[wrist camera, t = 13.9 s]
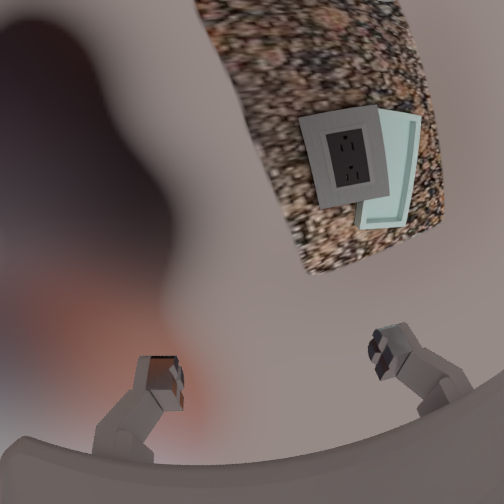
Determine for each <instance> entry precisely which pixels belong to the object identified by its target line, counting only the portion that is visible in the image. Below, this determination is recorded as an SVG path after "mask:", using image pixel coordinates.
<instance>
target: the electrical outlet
mask: <svg viewBox="0 0 504 504" xmlns="http://www.w3.org/2000/svg"><path fill="white" fill-rule="evenodd" d="M298 120H299V123H300V127H301V131H302V134H303V138H304V142H305V146H306V150H307V154H308V158H309V162H310V166H311V170H312V174H313V179H314V183H315V188H316V192H317V197H318V201H319V206H320V209H324V208H329V207H334V206H339V205H344V204H349V203H354V202H359V201H365V200H370V199H375V198H381V197H386V196H390V190H389V180H388V170H387V162H386V154H385V147H384V141H383V134H382V129H381V123H380V117H379V112H378V107H377V104H375V105H367V106H360V107H353V108H347V109H341V110H335V111H329V112H324V113H318V114H313V115H309V116H304V117H299V118H298Z"/></svg>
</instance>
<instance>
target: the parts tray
mask: <svg viewBox="0 0 504 504" xmlns="http://www.w3.org/2000/svg"><path fill="white" fill-rule="evenodd" d="M378 112H379V117H380V123H381V129H382V134H383V141H384V147H385V154H386V162H387V170H388V180H389V190H390V196H386V197H381V198H375V199H370V200H365V201H359V202H357V207H356V215H355V222H354V224H355V225H356V226H357V227H358V229H359V230H362V229H376V228H390V227H405V225H406V220H407V215H408V211H409V206H410V201H411V195H412V190H413V184H414V178H415V171H416V164H417V157H418V148H419V139H420V128H421V116H419V115H414V114H410V113H404V112H399V111H393V110H387V109H380V108H378Z"/></svg>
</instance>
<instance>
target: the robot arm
mask: <svg viewBox="0 0 504 504" xmlns="http://www.w3.org/2000/svg"><path fill="white" fill-rule="evenodd" d="M379 1H385V2H390V1H396V0H379ZM373 337H374V338H373V339H372V340H371V341H370V342H369V345H368V354H369V358H370V360H371V362H373V363H374V364H376V366H375V371H376V373H377V375H378V378H379V380H380V381H382V380H386V379H389V378H393V377H396V378H397V379H398V380H400V381H401V382H402V383H404V384H405V385H406V386H407V387H408V388H410V389H411V390H412V391H413V392H415V393H416V394H417V395H418V396H420V397H421V398H422V399H423V401H422V402H421V403H420V404H419V406H418V407H417V411H418V413H419V416H420V418H419V419H416V420H414V421H412V422H409V423H407V424H405V425H402V426H400V427H397V428H395V429H392V430H390V431H387V432H384V433H381V434H378V435H375V436H373V437H370V438H367V439H363V440H360V441H357V442H354V443H350V444H347V445H343V446H340V447H336V448H332V449H328V450H324V451H319V452H315V453H310V454H306V455H300V456H295V457H289V458H283V459H277V460H269V461H262V462H252V463H241V464H228V465H227V464H226V465H169V464H154V453H153V452H152V450H150V449H149V448H148V447H147V446H146V445H144V444H143V442H144V441H145V439H146V438H147V437H148V435H149V434H150V432H151V431H152V429H153V428H154V426H155V424H156V423H157V422H158V420H159V419H160V417H161V416H162V414H163V413H164V412H163V411H183V406H184V397H183V394H182V392H181V391H182V390H183V389H184V374H183V371H182V367H181V366H179V365H178V363H179V360H178V358H177V356H140V357H139V359H138V362H137V367H136V373H135V378H134V384H133V390H129V391H128V392H127V393H126V394H125V395H124V396H123V397H122V398H121V400H120V401H119V402H118V403H117V404H116V405H115V406H114V407H113V408H112V409H111V410H110V411H109V413H108V414H107V415H106V416H105V417H104V418H103V419H102V420H101V421H100V423H98V425H97V426H96V430H95V436H94V443H93V449H92V454H88V453H83V452H79V451H75V450H71V449H68V448H64V447H60V446H57V445H54V444H50V443H47V442H44V441H41V440H38V439H35V438H33V437H29V436H22V437H21V438H19V439H18V440H17V441H15V442H14V443H13V444H12V445H11V446H10V447H9V448H8V449H6V451H5V452H4V453H3V455H2V457H1V459H0V504H504V370H503V371H501V372H500V373H498V374H497V375H496V376H494V377H493V378H491V379H490V380H488V381H487V382H485V383H483V384H482V385H480V386H479V387H477V388H476V389H473V387H472V386H471V384H470V382H469V381H468V379H467V377H466V375H465V373H464V372H463V370H462V369H461V368H459V367H458V366H456V365H454V364H452V363H451V362H449V361H447V360H446V359H444V358H442V357H441V356H439V355H437V354H435V353H434V352H432V351H430V350H428V349H427V348H422V346H421V345H420V343H419V342H418V340H417V338H416V337H415V335H414V334H413V332H412V330H411V329H410V327H409V326H408V324H407V323H405V322H403V323H399V324H396V325H390V326H387V327H383V328H379V329H376V330H375V331H374V332H373Z"/></svg>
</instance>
